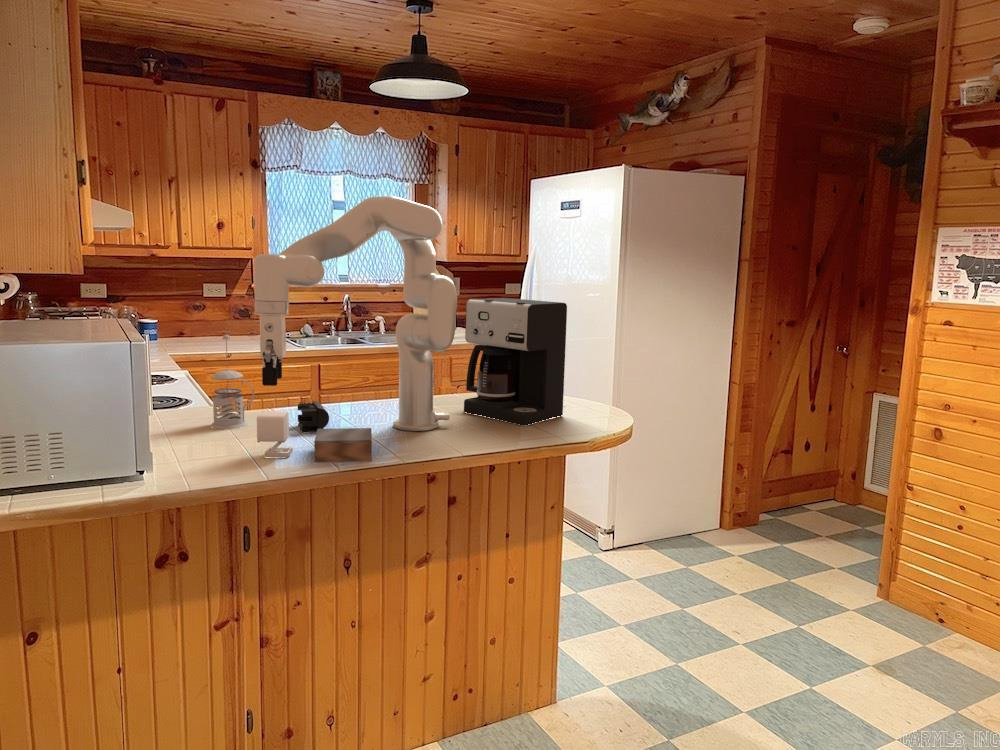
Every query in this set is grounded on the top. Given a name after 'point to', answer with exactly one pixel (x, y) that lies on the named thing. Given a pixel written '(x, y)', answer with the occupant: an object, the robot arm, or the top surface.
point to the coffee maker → (516, 358)
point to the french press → (229, 400)
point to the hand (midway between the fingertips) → (272, 381)
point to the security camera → (274, 432)
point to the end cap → (312, 417)
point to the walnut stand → (343, 445)
